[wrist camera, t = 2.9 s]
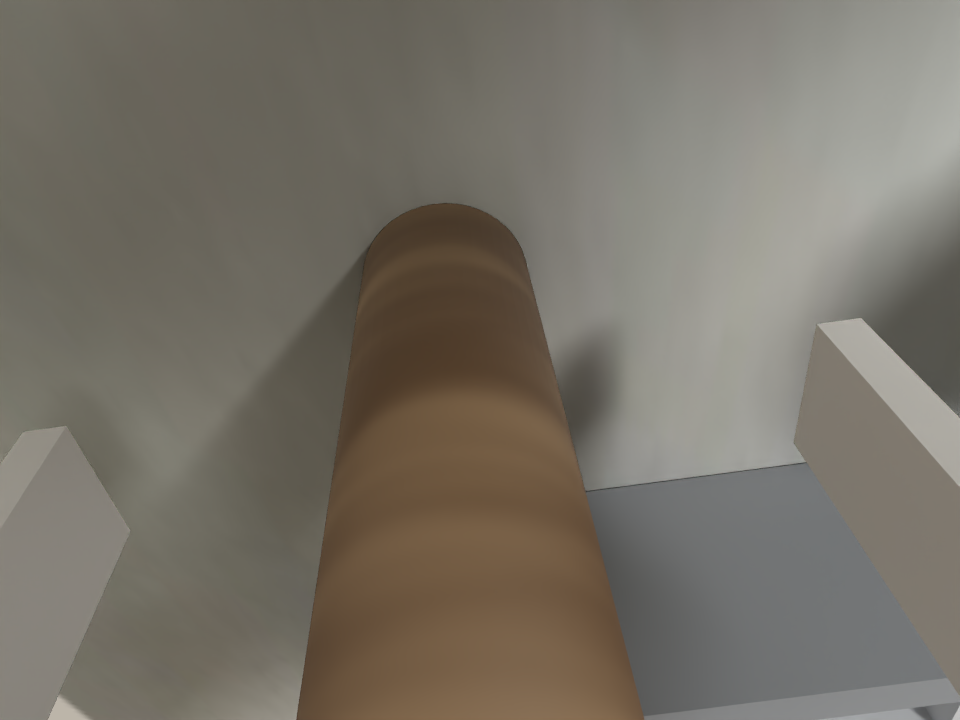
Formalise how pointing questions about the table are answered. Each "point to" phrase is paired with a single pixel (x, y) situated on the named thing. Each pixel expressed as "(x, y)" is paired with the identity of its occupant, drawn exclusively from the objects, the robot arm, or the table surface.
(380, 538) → the peg
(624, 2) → the table surface
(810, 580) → the crate
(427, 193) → the table surface
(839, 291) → the table surface
